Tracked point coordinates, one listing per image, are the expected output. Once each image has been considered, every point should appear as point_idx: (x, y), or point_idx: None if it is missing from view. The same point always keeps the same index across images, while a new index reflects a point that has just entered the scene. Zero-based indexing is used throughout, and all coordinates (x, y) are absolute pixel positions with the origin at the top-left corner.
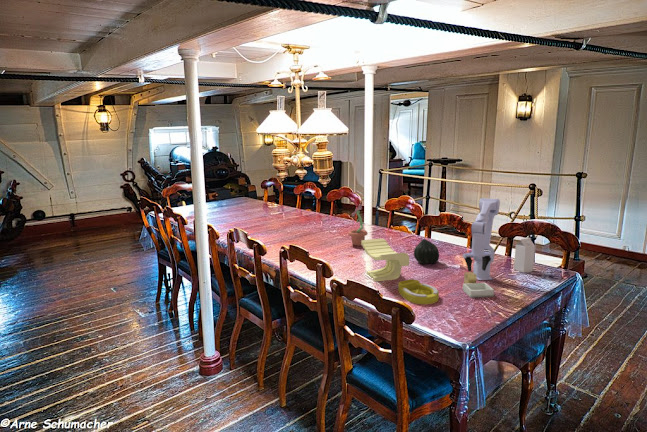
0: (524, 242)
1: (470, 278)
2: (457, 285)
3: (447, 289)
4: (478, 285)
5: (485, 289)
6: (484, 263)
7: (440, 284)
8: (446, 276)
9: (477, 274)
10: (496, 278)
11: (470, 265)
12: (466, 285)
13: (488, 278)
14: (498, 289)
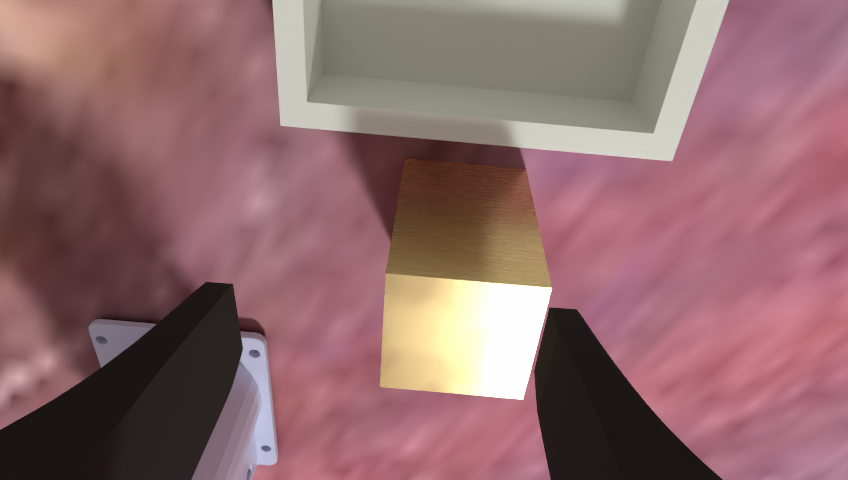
0: None
1: (498, 245)
2: (595, 267)
3: (819, 185)
4: (412, 97)
5: (329, 3)
6: (153, 440)
7: (769, 330)
8: (548, 468)
9: (245, 413)
10: (40, 337)
11: (629, 421)
12: (672, 77)
13: (136, 340)
14: (103, 24)
